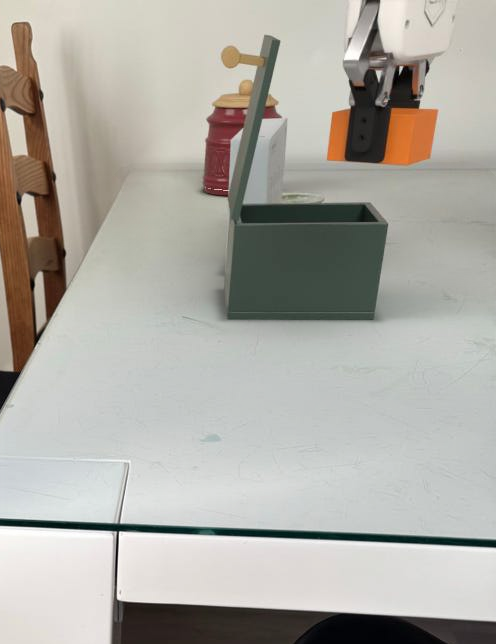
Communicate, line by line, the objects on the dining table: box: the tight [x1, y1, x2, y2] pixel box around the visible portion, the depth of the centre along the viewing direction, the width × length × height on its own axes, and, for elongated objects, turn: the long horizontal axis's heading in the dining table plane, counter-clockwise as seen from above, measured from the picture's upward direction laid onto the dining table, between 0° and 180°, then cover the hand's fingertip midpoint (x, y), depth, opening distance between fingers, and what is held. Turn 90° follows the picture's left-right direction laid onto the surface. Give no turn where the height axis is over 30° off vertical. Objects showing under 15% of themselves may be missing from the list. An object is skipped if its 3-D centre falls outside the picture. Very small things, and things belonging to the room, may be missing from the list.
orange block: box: [326, 108, 439, 167], centre depth 82 cm, size 7×4×4 cm, turn 47°
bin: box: [223, 201, 389, 321], centre depth 112 cm, size 16×13×10 cm
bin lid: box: [220, 34, 281, 221], centre depth 106 cm, size 16×13×5 cm
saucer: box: [282, 192, 325, 203], centre depth 160 cm, size 10×10×2 cm
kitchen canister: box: [202, 79, 283, 197], centre depth 176 cm, size 13×13×18 cm
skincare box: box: [224, 117, 288, 271], centre depth 131 cm, size 21×5×16 cm, turn 162°
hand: (378, 154), depth 83 cm, fingers closed on orange block, 4 cm apart
